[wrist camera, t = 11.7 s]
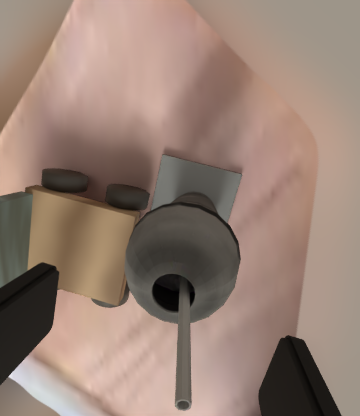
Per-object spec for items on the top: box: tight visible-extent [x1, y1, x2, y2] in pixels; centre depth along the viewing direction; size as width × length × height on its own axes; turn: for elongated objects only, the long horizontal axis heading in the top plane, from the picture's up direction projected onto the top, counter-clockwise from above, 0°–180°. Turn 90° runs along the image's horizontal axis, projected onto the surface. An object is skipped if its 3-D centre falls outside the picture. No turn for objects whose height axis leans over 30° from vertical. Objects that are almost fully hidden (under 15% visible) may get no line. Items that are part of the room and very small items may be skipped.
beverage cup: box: [124, 191, 241, 411], centre depth 17 cm, size 7×7×20 cm
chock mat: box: [151, 154, 242, 223], centre depth 27 cm, size 9×10×1 cm
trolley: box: [0, 169, 150, 308], centre depth 23 cm, size 12×13×12 cm
